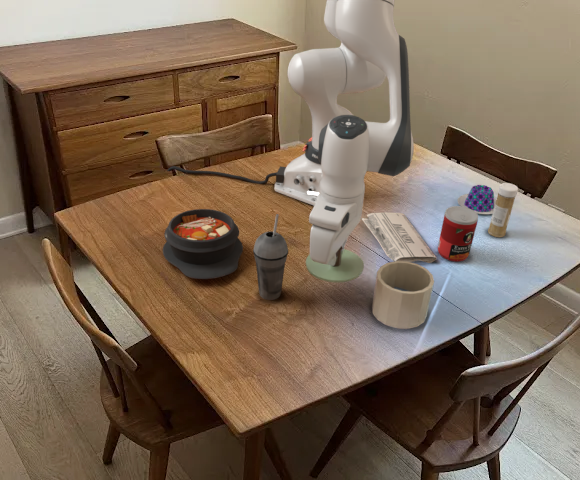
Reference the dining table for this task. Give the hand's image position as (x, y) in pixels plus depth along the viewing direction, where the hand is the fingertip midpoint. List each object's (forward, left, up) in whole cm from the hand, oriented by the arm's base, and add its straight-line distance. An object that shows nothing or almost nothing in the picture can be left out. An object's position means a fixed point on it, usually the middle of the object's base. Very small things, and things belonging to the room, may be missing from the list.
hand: (335, 258), depth 128 cm
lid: (0, 0, -2) cm, 2 cm away
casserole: (-33, 0, -9) cm, 34 cm away
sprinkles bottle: (+28, +44, -9) cm, 53 cm away
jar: (+15, 0, -9) cm, 18 cm away
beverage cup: (-12, -7, -9) cm, 16 cm away
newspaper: (+6, +28, -9) cm, 30 cm away
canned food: (+20, +29, -9) cm, 36 cm away
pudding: (+21, +57, -9) cm, 61 cm away
